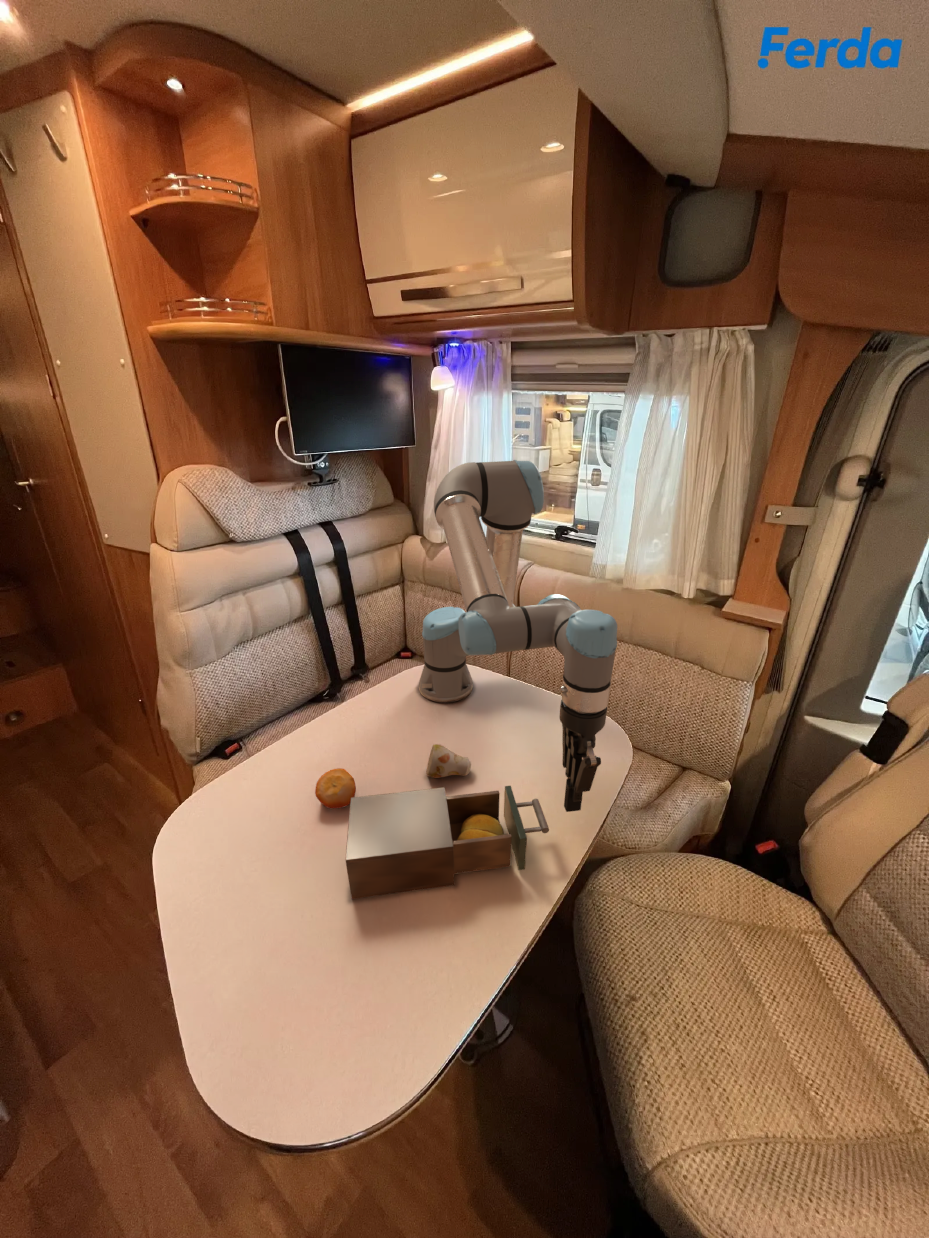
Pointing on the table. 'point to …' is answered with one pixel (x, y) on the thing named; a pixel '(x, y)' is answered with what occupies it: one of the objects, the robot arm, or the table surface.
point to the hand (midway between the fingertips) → (572, 807)
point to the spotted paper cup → (446, 763)
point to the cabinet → (399, 843)
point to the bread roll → (480, 827)
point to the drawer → (492, 848)
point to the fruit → (335, 788)
